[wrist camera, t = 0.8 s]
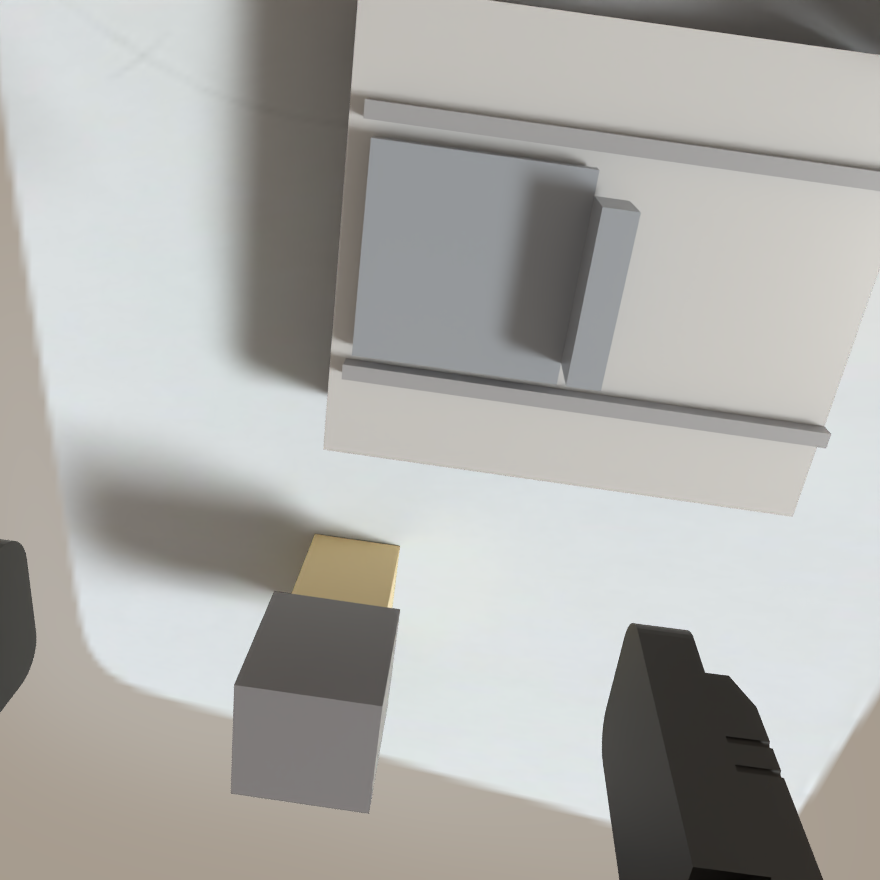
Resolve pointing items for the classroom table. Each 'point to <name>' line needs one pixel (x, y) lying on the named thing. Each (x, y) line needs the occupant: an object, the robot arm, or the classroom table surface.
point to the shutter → (490, 264)
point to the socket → (655, 247)
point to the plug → (319, 681)
